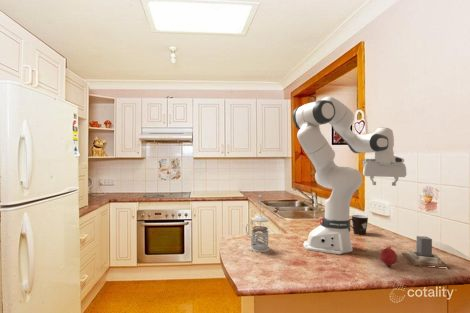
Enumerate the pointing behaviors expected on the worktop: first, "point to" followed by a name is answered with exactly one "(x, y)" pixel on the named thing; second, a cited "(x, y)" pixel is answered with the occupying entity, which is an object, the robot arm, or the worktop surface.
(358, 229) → the coffee mug
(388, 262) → the onion
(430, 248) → the plug
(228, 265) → the worktop surface
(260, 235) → the french press
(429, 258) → the socket board
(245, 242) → the worktop surface
